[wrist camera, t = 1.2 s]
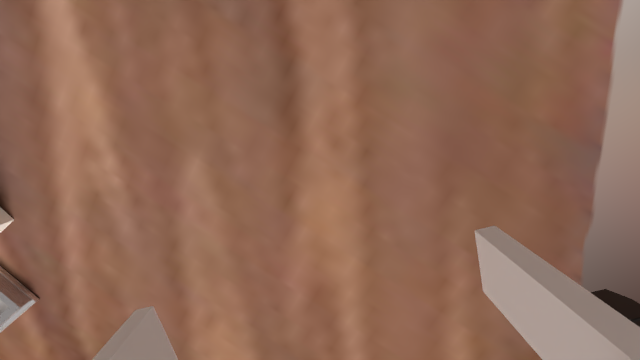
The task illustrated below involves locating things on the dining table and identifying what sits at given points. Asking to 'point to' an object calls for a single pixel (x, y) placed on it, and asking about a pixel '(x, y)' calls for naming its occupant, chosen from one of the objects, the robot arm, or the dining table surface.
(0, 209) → the block
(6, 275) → the rail
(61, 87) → the dining table surface
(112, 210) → the dining table surface
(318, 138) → the dining table surface
